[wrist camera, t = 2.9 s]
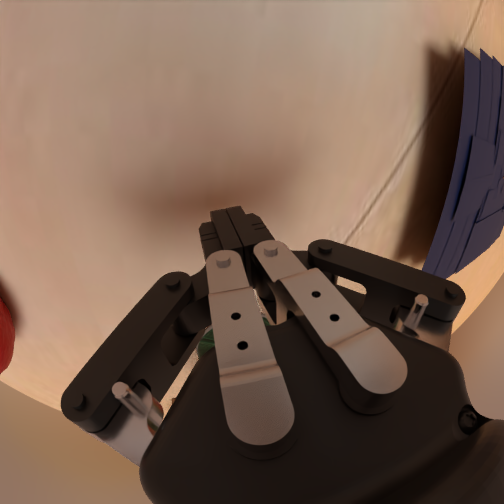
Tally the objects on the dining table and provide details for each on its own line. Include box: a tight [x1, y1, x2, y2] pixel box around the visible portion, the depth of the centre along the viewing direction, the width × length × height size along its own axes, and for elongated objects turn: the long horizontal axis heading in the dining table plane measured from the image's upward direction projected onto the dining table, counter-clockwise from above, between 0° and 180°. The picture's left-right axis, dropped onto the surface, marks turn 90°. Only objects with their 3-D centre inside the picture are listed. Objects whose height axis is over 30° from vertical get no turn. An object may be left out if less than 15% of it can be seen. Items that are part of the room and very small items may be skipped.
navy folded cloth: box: [421, 48, 504, 279], centre depth 20 cm, size 24×30×4 cm
